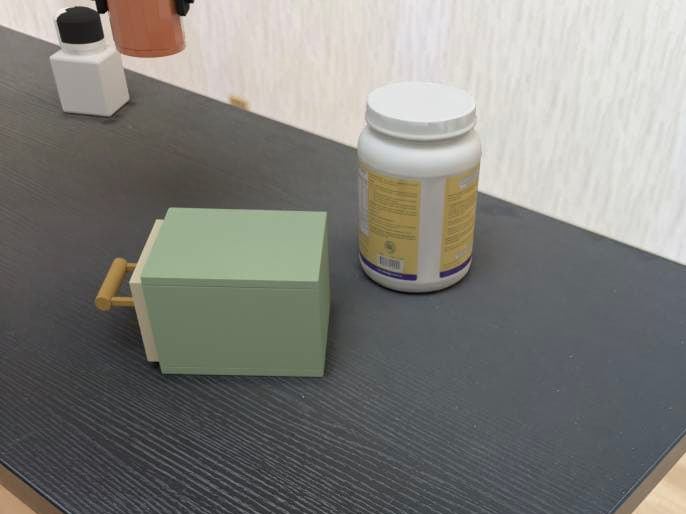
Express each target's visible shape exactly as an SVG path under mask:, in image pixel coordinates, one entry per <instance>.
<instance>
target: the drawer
mask: <svg viewBox="0 0 686 514" xmlns="http://www.w3.org/2000/svg"><path fill="white" fill-rule="evenodd" d="M163 221H164V219H155V222H154V224H153V226H152V228H151V231H150V233H149V235H148V238H147V240H146V242H145V245H144V247H143V249H142V251H141V254H140V256H139V258H138V261H137V262H128V261H127V260H126V259H124V258H123V257H116V258H114V260H113V261H112V263H111V265H110V267H109V270H108V271H107V274H106V276H105V278H104V280H103V282H102V284H101V287H100V288H99V291H98V293H97V295H96V297H95V299H94V305H95V307H96V308H97V309H98V310H100V311H102V312H107V311H109V310H110V309H111V308H112V307H134V309H135V313H136V318H137V322H138V326H139V331H140V335H141V338H142V343H143V347H144V351H145V355H146V360H147V361H148V362H157V363H159V359H158V355H157V350H156V346H155V341H154V337H153V333H152V328H151V324H150V319H149V315H148V311H147V306H146V302H145V297H144V293H143V289H142V284H141V279H140V276H141V273H142V271H143V268H144V266H145V264H146V261H147V259H148V257H149V254H150V252H151V249H152V247H153V245H154V242H155V240H156V237H157V235H158V233H159V230H160V228H161V226H162V223H163ZM127 272H129V273H130V272H131V273H132V275H131V277H130V279H129V281H128V285H129V289H130V292H131V296H118V295H117V294H118V292H119V290H120V288H121V285H122V283H123V282H124V280H125V277H126V275H127Z"/></svg>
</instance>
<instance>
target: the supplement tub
mask: <svg viewBox="0 0 686 514" xmlns="http://www.w3.org/2000/svg"><path fill="white" fill-rule="evenodd" d="M365 105H366V106H365V107H366V108H365V109H366V111H365V114H364V120H365V122H366V125H365V126H364V127H363V129H362V130H361V131H360V134H359V136H358V138H357V139H358V140H357V146H356V152H357V191H358V193H357V195H358V197H357V198H358V201H357V202H358V257H359V261H360V264H361V267H362V269H363V270H364V273H365V274H366V275H367V276H368V277H369V278H370V279H371V280H372V281H374V282H375V283H377V284H378V285H380V286H382V287H385V288H388V289H391V290H393V291H397V292H403V293H404V292H405V293H429V292H430V293H431V292H436V291H440V290H444V289H446V288H449V287H451V286H453V285H455V284H456V283H458V282H460V281H461V280H462V279H463V278H464V277H465V276H466V274H467V273H468V272H469V270H470V267H471V264H472V260H473V245H474V233H475V223H476V222H475V221H476V213H477V201H478V190H479V180H480V171H481V161H482V160H481V159H482V153H483V152H482V141H481V138H480V136H479V134H478V132H477V130H476V129H475V127H476V125H477V122H478V118H477V115H476V114H477V100H476V99H475V96H473V95H472V94H470V93H469V92H468V91H466V90H464V89H462V88H459V87H456V86H453V85H449V84H446V83H445V84H444V83H440V82H433V81H402V82H401V81H400V82H394V83H393V82H392V83H389V84H386V85H385V84H384V85H382V86H379V87H377V88H375V89H373V90H372V91H370V92H369V94H368V95H367V97H366V103H365Z"/></svg>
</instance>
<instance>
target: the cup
mask: <svg viewBox="0 0 686 514" xmlns="http://www.w3.org/2000/svg"><path fill="white" fill-rule="evenodd" d="M105 1H106V6H107V15H108V16H107V17H108V20H109V24H110V29H111V35H112V40H113V42H114V46H115V47H116V50H117V51H118V52H119V53H120V54H122V55H124V56H127V57H132V58H138V59H139V58H140V59H154V58H165V57H169V56H173V55H177V54H179V53H181V52H183V51H185V50H186V47H187V43H186V32H185V25H184V17H183V16H180V15H179V14H177V10H176V3H175V0H105Z"/></svg>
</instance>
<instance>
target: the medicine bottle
mask: <svg viewBox="0 0 686 514" xmlns="http://www.w3.org/2000/svg"><path fill="white" fill-rule="evenodd" d="M52 20H53V24H54V28H55V31H56V35H57V39H58V44H59V47H60V48H61V49H59V50H58V51H55V52H54V53H53V54H52V55H50V56H49V62H50V66H51V70H52V74H53V79H54V82H55V86H56V89H57V93H58V98H59V101H60V105H61V107H62V108H61V109H62V112H64V113H65V114H67V113H68V114H75V115H76V114H77V115H85V116H95V117H107V118H110V117H112V116H113V115H114V114H115V113H117V111H118V110H119V109H121V108H122V107H123V106H124V105H125V104H126V103H128V102H129V101H130V93H129V90H128V84H127V80H126V79H127V78H126V74H125V70H124V65H123V60H122V59H123V58H122V55H121V53H119V52H118V51H117V50H116V47H115V45H111V44H106V38H105V33H104V28H103V24H102V19H101V14H98V12H97V10H95V9H93V8H91V7H88V6H82V5H74V6H66V7H62V8H59V9H58V10H57V11H55V12H54V13H53V16H52Z"/></svg>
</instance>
